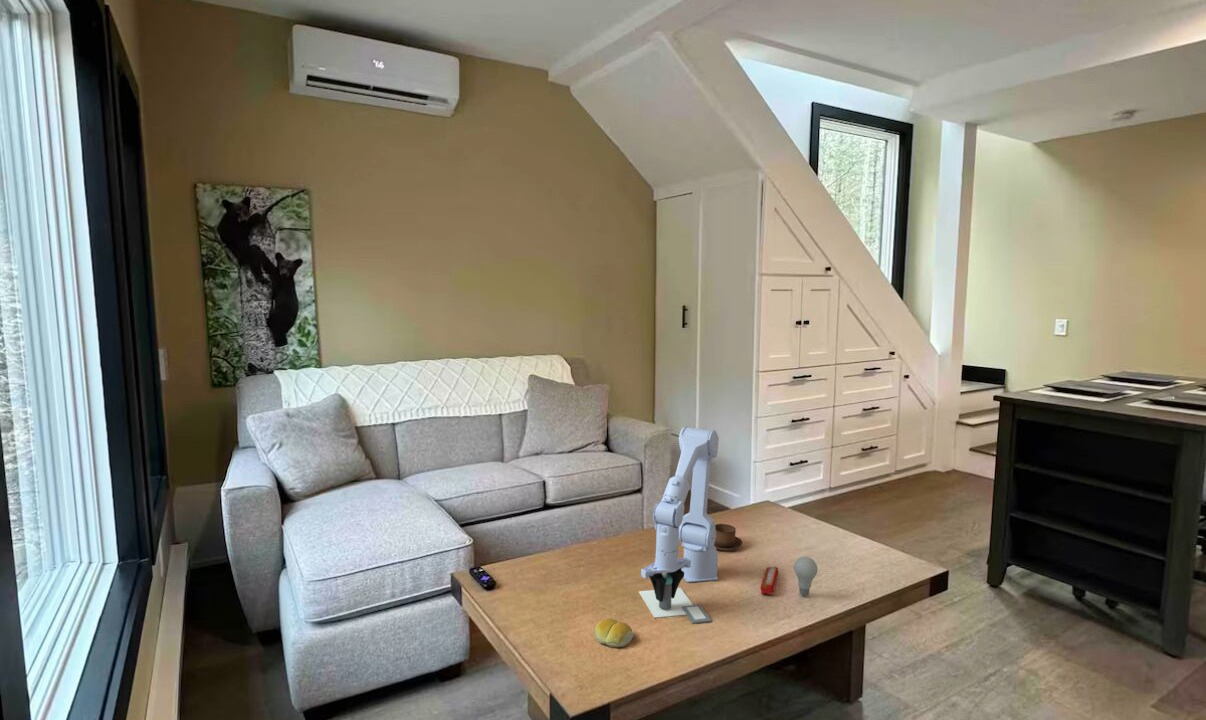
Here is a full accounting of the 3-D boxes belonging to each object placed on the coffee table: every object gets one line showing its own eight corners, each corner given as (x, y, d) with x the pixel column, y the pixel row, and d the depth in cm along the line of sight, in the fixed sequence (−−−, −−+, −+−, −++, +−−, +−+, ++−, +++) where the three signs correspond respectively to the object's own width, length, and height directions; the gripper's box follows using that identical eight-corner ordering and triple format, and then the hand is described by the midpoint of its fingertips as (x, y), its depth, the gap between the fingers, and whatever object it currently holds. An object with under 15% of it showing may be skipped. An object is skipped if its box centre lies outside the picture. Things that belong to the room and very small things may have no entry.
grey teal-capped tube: (668, 602, 168) (669, 573, 167) (673, 608, 164) (674, 579, 163) (656, 604, 166) (657, 575, 165) (661, 610, 163) (662, 580, 162)
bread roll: (605, 625, 157) (606, 609, 156) (637, 636, 152) (637, 621, 152) (586, 640, 150) (587, 624, 150) (619, 653, 145) (619, 636, 145)
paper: (680, 588, 177) (680, 587, 177) (699, 613, 163) (699, 612, 163) (638, 591, 174) (638, 591, 174) (654, 618, 160) (654, 617, 160)
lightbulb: (815, 593, 176) (818, 555, 175) (815, 603, 170) (818, 564, 169) (792, 589, 178) (795, 551, 177) (791, 599, 172) (794, 560, 171)
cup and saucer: (704, 537, 213) (705, 520, 213) (740, 540, 212) (741, 522, 211) (705, 552, 202) (705, 533, 201) (743, 555, 200) (744, 536, 199)
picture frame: (699, 606, 167) (699, 604, 167) (711, 622, 159) (711, 619, 159) (681, 608, 166) (681, 605, 166) (692, 624, 158) (692, 621, 158)
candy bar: (766, 572, 189) (766, 562, 188) (779, 574, 187) (779, 564, 187) (759, 596, 174) (759, 585, 173) (773, 599, 172) (773, 588, 172)
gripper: (679, 537, 171) (677, 585, 172) (635, 547, 163) (633, 598, 165) (696, 547, 165) (694, 596, 166) (650, 558, 157) (649, 610, 159)
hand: (665, 598), depth 165 cm, fingers closed on grey teal-capped tube, 3 cm apart
